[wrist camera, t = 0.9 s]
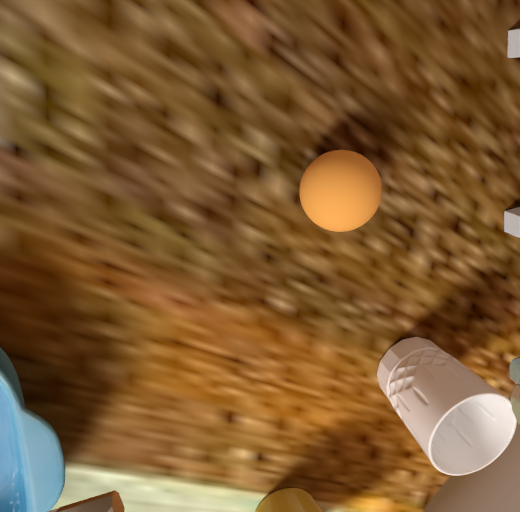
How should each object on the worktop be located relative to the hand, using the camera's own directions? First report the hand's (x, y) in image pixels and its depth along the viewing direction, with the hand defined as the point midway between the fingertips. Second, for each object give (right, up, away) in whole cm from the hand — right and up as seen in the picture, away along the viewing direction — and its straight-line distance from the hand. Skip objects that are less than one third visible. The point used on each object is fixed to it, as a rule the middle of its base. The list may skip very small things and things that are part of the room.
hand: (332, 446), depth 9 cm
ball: (+5, +9, +26) cm, 28 cm away
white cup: (+13, -7, +38) cm, 40 cm away
